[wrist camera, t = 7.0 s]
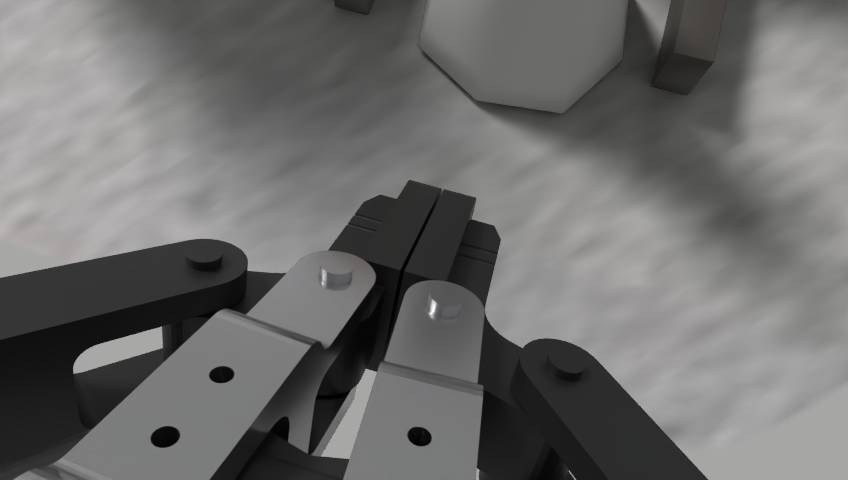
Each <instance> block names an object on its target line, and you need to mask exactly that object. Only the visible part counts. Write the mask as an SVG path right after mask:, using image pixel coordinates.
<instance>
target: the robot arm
mask: <svg viewBox="0 0 848 480" xmlns="http://www.w3.org/2000/svg"><path fill="white" fill-rule="evenodd" d="M441 193H442V194H441ZM475 203H476V198H475V197H471V196H467V195H464V194H460V193H456V192H452V191H449V190H445V189H444V190H443V192H442V189H441V188H437V187H434V186H430V185H426V184H422V183H419V182H415V181H411V180H409V181H408V182H407V184H406V186H405V187H404V189H403V190H402V192H401V194H400V195H399V197H398V198H397V199H394V198H390V197H387V196H383V195H379V196H376V197H374V198H372V199H370V200H367V201H365V202H364V203H363V204H362V205H361V207H360V208H359V209H358V211H357V212H356V213H355V216H353V217H352V219H351V220H350V221H349V223H348V225H347V226H346V227H345V228H344V230H343V231H342V232H341V234H340V235H339V236H338V238H337V239H336V240H335V242H334V243H333V245H332V246H331V247H330V249H329V250H328V251H320V252H315V253H312V254H309V255H307V256H305V257H303V258H302V259H301V260H299V261H298V262H297V263H296V264H295V265H294V266H293V267H292V268H291V269H290V270H289V271H288V273H266V272H253V271H247V266H248V260H247V257H246V255H245V254H244V252H243V251H242V250H241V249H239V248H238V247H236V246H234V245H232V244H230V243H227V242H224V241H219V240H213V239H194V240H188V241H183V242H178V243H173V244H168V245H163V246H158V247H153V248H148V249H143V250H138V251H133V252H128V253H123V254H118V255H113V256H108V257H103V258H98V259H93V260H88V261H83V262H78V263H73V264H68V265H63V266H58V267H53V268H48V269H43V270H38V271H33V272H28V273H23V274H18V275H13V276H8V277H3V278H0V480H476V469H477V468H478V469H479V470H480V471H479V480H574V478H573V477H572V475H571V474H570V473H569V470H570V472H571V473H572V474H573V475H574V477H575V478H576V480H708V479H707V478H706V477H705V476H704V475H703V474H702V472H701V471H699V470H698V468H697V467H696V466H695V465H694V464H693V463H692V462H691V461H690V460H689V459H688V457H687V456H686V455H685V454H684V453H683V452H682V451H681V450H680V449H679V448H678V447H677V446H676V445H675V443H674V442H673V441H672V440H671V439H670V438H669V437H668V436H667V435H666V434H665V433H664V432H663V431H662V430H661V428H660V427H659V426H658V425H657V424H656V423H655V422H654V421H653V420H652V419H651V418H650V417H649V416H648V414H647V413H646V412H645V411H644V410H643V409H642V408H641V407H640V406H639V405H638V404H637V403H636V402H635V400H634V399H633V398H632V397H631V396H630V395H629V394H628V393H627V392H626V391H625V390H624V389H623V388H622V387H621V385H620V384H619V383H618V382H617V381H616V380H615V379H614V378H613V377H612V376H611V375H610V374H609V373H608V371H607V370H606V369H605V368H604V367H603V366H602V365H601V364H600V363H599V362H598V361H597V360H596V359H595V358H594V357H593V356H592V355H591V354H589V353H588V352H587V351H585V350H583V349H582V348H580V347H578V346H576V345H574V344H571V343H568V342H566V341H562V340H557V339H538V340H534V341H531V342H529V343H528V344H527V345H525V346H524V348H521V347H519V346H517V345H515V344H514V343H512V342H510V341H508V340H507V339H505V338H504V337H503V336H501V335H500V334H499V333H498V332H497V331H495V330H494V328H493V327H492V326H491V325H490V323H489V322H488V320H487V318H486V315H485V304H486V300H487V296H488V291H489V287H490V283H491V279H492V275H493V270H494V266H495V262H496V258H497V254H498V249H499V245H500V241H501V239H500V237H499V235H498V233H497V231H496V229H495V227H494V226H493V225H489V224H486V223H482V222H478V221H475V220H471V219H472V215H473V211H474V207H475ZM161 326H162V333H163V334H162V335H163V348H162V349H159V350H155V351H152V352H149V353H145V354H142V355H139V356H135V357H132V358H129V359H125V360H122V361H119V362H116V363H112V364H109V365H105V366H102V367H99V368H96V369H92V370H89V371H86V372H82V373H76V374H73V365H74V363H75V361H76V359H77V358H78V356H79V355H80V354H81V353H83V352H84V351H85V350H86V349H88V348H90V347H92V346H94V345H97V344H100V343H103V342H107V341H111V340H114V339H118V338H122V337H125V336H129V335H133V334H136V333H140V332H143V331H147V330H150V329H154V328H158V327H161ZM365 369H369V370H373V371H376V372H377V374H376V377H375V380H374V384H373V387H372V390H371V393H370V396H369V400H368V403H367V406H366V409H365V412H364V415H363V418H362V421H361V425H360V428H359V431H358V434H357V437H356V440H355V444H354V447H353V450H352V453H351V456H350V459H341V458H330V457H321V455H322V453H323V451H324V450H325V448H326V446H327V445H328V443H329V441H330V439H331V438H332V436H333V434H334V433H335V431H336V429H337V428H338V426H339V424H340V422H341V421H342V418H343V417H344V415H345V414H346V412H347V410H348V409H349V407H350V405H351V403H352V402H353V400H354V397H355V392H356V386H357V384H358V383H359V381H360V380H361V378H362V376H363V373H364V371H365Z"/></svg>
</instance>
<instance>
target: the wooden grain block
mask: <svg viewBox="0 0 848 480" xmlns="http://www.w3.org/2000/svg"><path fill="white" fill-rule="evenodd" d="M372 2H373V0H334V3H335V6H336V7H340V8H344V9H348V10H352V11H356V12H360V13H364V14H368V12H369V10H370V7H371V4H372ZM725 4H726V0H671V5H670V9H669V13H668V17H667V22H666V26H665V30H664V35H663V39H662V43H661V48H660V52H659V56H658V61H657V65H656V69H655V73H654V78H653V82H652V86H654V87H657V88H661V89H665V90H669V91H673V92H677V93H681V94H685V95H688V94H689V93H690V91H691V90H692V89H693V88H694V86H695V85H696V84H697V82H698V81H699V80H700V79H701V77H702V76H703V75H704V73H705V72H706V71H707V70H708V68H709V67H710V66H711V65H712V63H713V62H714V57H715V52H716V47H717V43H718V38H719V33H720V28H721V23H722V18H723V13H724V8H725Z"/></svg>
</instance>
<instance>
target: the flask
mask: <svg viewBox="0 0 848 480" xmlns="http://www.w3.org/2000/svg"><path fill="white" fill-rule="evenodd" d="M628 6H629V0H427V2H426V7H425V12H424V17H423V21H422V26H421V31H420V35H419V40H418V46H419V47H420V48H421V49H422V50H423V51H424V52H425V53H426V54H427V55H428V56H429V57H430V58H431V59H432V60H433V61H435V62H436V63H437V64H438V65H439V66H440V67H441V68H442V69H443V70H444V71H445V72H446V73H447V74H448V75H449V76H451V77H452V78H453V79H454V80H455V81H456V82H457V83H458V84H459V85H460V86H461V87H462V88H463V89H464V90H465V91H467V92H468V93H469V94H470V95H471V96H472V97H473V98H474V99H475V100H477V101H483V102H490V103H497V104H503V105H510V106H516V107H523V108H529V109H536V110H543V111H549V112H556V113H562V114H563V113H564V112H565V111H566V110H567V109H568V108H569V107H571V106H572V105H573V104H574V103H575V102H576V101H577V100H578V99H580V98H581V97H582V96H583V95H584V94H585V93H586V92H587V91H588V90H590V89H591V88H592V87H593V86H594V85H595V84H596V83H597V82H599V81H600V80H601V79H602V78H603V77H604V76H605V75H606V74H607V73H609V72H610V71H611V70H612V69H613V68H614V67H615V66H616V65H618V64H619V63H620V62H621V61H622V60H623V51H624V42H625V33H626V24H627V15H628Z"/></svg>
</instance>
